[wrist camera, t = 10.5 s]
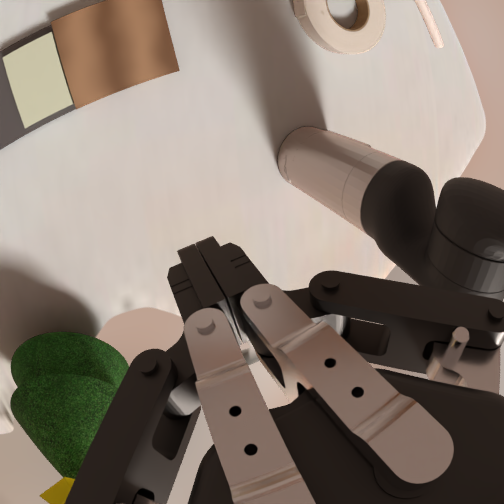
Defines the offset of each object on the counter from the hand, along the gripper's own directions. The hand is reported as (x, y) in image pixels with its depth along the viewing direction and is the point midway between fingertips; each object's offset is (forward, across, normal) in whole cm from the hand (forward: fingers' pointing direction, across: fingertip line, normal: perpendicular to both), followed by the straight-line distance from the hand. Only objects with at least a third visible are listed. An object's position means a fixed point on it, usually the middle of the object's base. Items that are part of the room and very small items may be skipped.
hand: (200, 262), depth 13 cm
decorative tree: (+28, +23, +26) cm, 45 cm away
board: (+28, 0, -12) cm, 30 cm away
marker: (+30, -52, -14) cm, 61 cm away
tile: (+28, +9, -11) cm, 31 cm away
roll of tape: (+29, -32, -12) cm, 45 cm away
